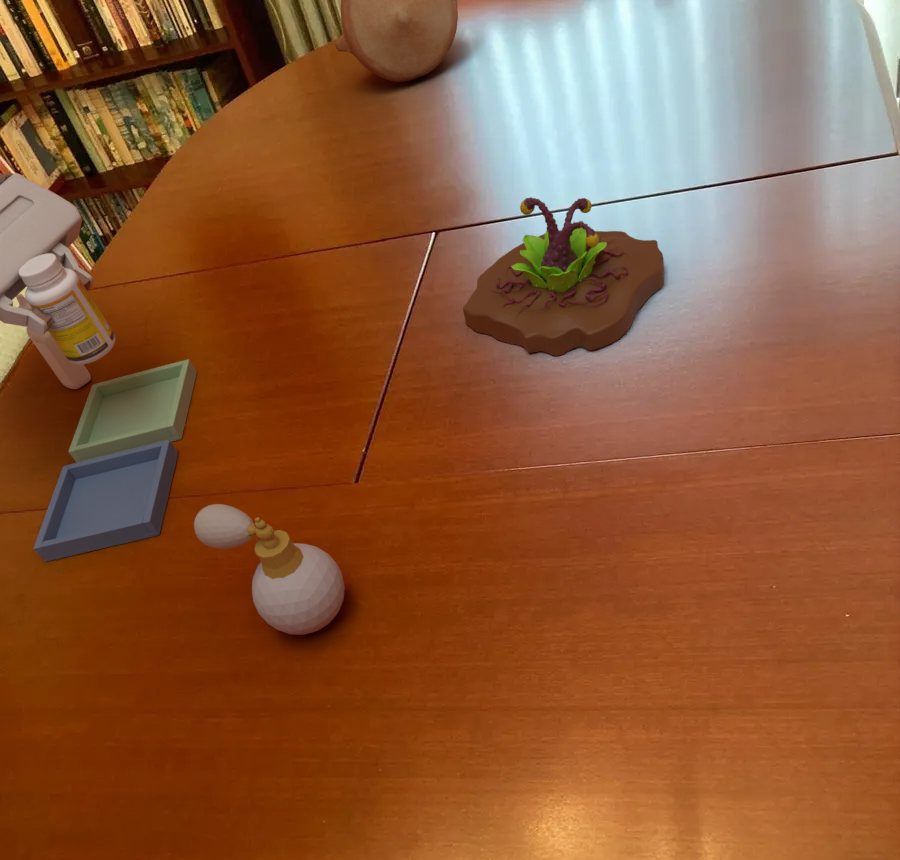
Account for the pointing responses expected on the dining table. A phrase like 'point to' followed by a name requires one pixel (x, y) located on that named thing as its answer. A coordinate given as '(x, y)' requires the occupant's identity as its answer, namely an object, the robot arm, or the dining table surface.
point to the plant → (565, 286)
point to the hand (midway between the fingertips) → (68, 306)
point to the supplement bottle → (67, 309)
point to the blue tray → (108, 501)
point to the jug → (398, 35)
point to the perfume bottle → (279, 570)
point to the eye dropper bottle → (56, 355)
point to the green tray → (134, 411)
